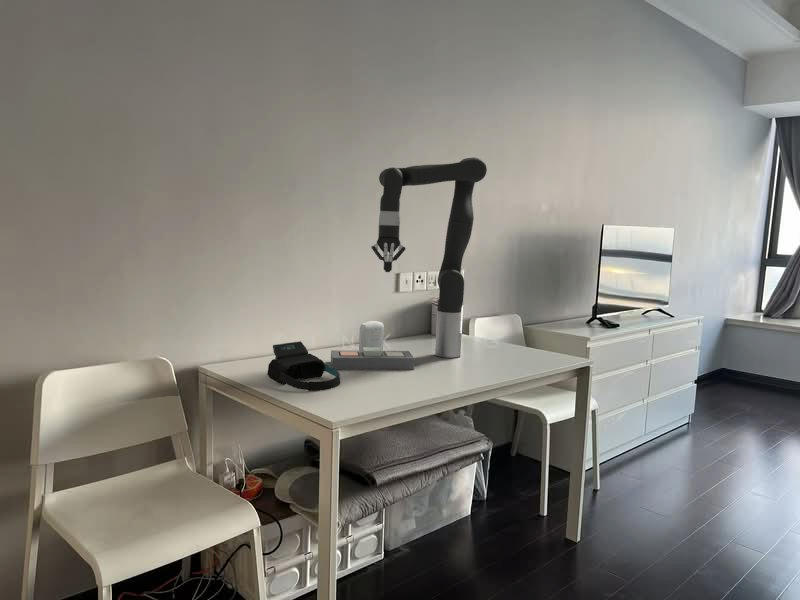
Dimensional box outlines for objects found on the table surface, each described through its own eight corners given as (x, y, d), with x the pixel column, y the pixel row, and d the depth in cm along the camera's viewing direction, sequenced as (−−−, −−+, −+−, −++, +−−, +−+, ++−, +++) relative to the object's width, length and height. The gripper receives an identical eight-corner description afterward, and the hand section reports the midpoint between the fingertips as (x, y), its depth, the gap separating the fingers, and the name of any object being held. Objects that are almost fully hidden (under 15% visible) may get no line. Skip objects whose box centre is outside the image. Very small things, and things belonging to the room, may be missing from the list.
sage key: (379, 355, 223) (379, 347, 223) (381, 358, 217) (381, 351, 217) (362, 355, 222) (362, 347, 222) (364, 358, 216) (364, 350, 216)
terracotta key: (356, 359, 222) (357, 351, 222) (358, 363, 216) (358, 355, 216) (339, 359, 221) (340, 351, 221) (340, 363, 215) (341, 355, 215)
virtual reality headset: (305, 368, 209) (309, 339, 207) (350, 392, 195) (355, 361, 193) (258, 376, 195) (262, 346, 193) (304, 402, 181) (308, 370, 179)
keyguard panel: (408, 361, 228) (408, 350, 228) (413, 369, 217) (414, 358, 216) (330, 361, 224) (331, 350, 223) (332, 369, 212) (332, 357, 212)
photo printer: (377, 350, 246) (378, 319, 245) (384, 352, 243) (385, 320, 242) (357, 353, 239) (358, 321, 238) (364, 355, 236) (365, 323, 235)
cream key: (401, 359, 225) (401, 352, 224) (404, 363, 219) (404, 355, 218) (384, 359, 224) (385, 351, 223) (387, 363, 218) (387, 355, 218)
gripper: (405, 224, 232) (403, 271, 234) (369, 223, 229) (368, 270, 232) (409, 225, 224) (407, 273, 226) (372, 223, 222) (370, 272, 224)
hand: (387, 272), depth 229 cm, fingers closed
